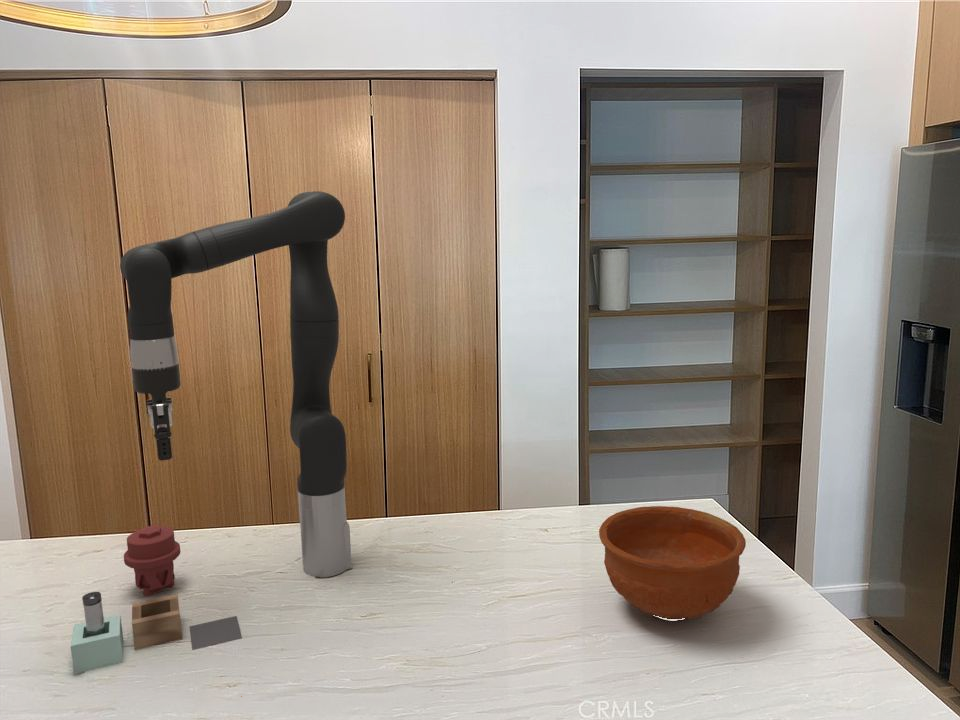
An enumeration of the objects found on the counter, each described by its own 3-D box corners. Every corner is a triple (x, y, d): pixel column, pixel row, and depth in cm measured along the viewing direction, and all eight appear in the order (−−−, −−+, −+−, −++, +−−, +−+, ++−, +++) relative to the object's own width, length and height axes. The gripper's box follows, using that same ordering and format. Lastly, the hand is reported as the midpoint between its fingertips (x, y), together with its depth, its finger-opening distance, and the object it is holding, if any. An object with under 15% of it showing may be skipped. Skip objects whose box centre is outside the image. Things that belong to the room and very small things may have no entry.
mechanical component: (194, 578, 149) (163, 604, 139) (149, 574, 151) (116, 599, 141) (188, 520, 146) (156, 542, 137) (143, 517, 148) (109, 538, 139)
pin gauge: (108, 650, 124) (101, 590, 122) (108, 659, 122) (100, 597, 120) (90, 654, 123) (82, 593, 121) (89, 663, 121) (81, 601, 119)
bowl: (772, 620, 130) (777, 540, 127) (667, 666, 117) (670, 578, 114) (668, 565, 150) (671, 495, 148) (570, 599, 138) (571, 523, 135)
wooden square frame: (180, 619, 134) (177, 594, 133) (182, 640, 127) (179, 613, 126) (135, 629, 131) (132, 603, 130) (135, 651, 124) (131, 624, 123)
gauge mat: (236, 617, 134) (236, 615, 134) (242, 639, 127) (242, 638, 127) (189, 627, 131) (189, 626, 131) (192, 651, 124) (192, 649, 124)
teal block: (123, 641, 127) (120, 614, 126) (122, 663, 121) (119, 635, 120) (77, 651, 124) (73, 624, 123) (74, 674, 118) (70, 646, 117)
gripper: (180, 368, 124) (189, 461, 127) (176, 354, 136) (185, 439, 140) (131, 372, 121) (141, 467, 124) (131, 358, 133) (141, 444, 137)
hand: (164, 452), depth 132 cm, fingers open, 8 cm apart
